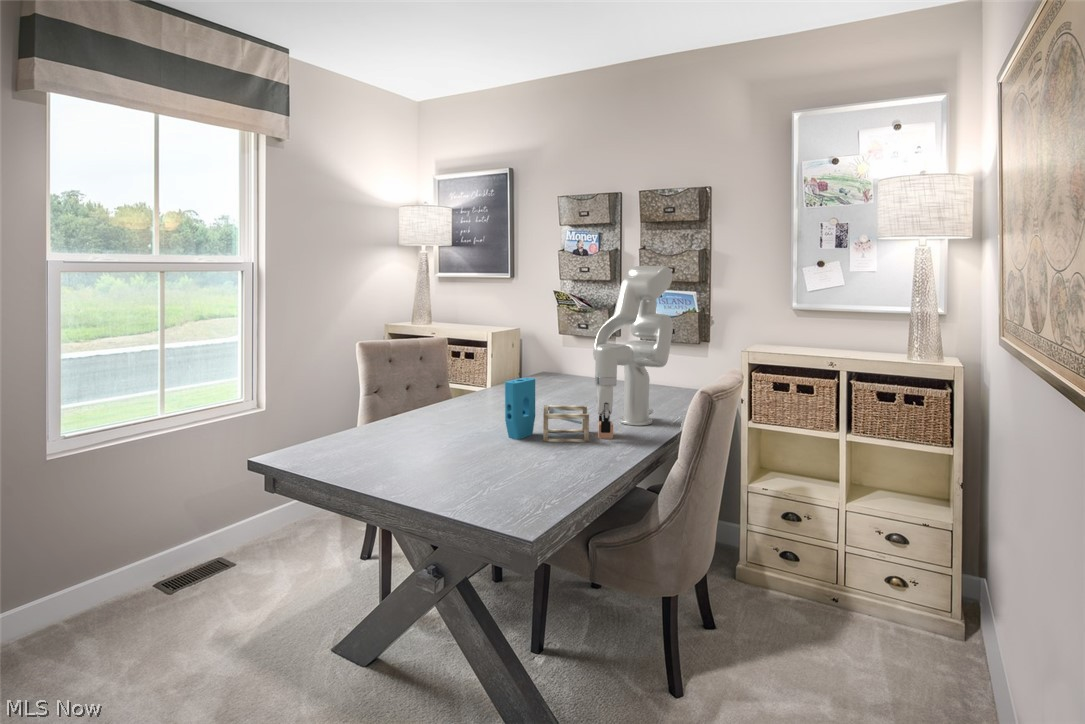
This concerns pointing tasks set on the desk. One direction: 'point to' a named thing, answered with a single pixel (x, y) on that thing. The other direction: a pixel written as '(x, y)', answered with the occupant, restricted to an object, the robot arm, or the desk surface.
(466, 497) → the desk surface
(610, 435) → the terracotta block
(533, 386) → the block
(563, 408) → the frame
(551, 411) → the trapdoor plate
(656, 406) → the desk surface
